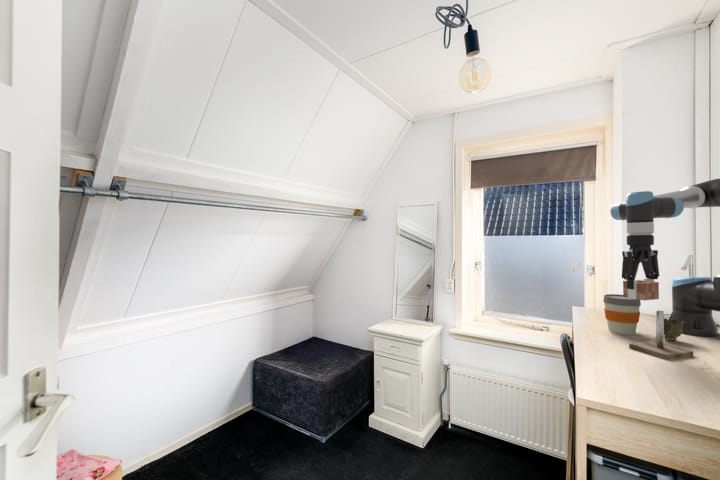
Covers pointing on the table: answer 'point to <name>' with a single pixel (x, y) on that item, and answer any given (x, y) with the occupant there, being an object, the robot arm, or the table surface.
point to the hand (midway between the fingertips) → (640, 297)
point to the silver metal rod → (659, 329)
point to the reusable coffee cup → (621, 313)
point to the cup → (672, 329)
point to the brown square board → (661, 350)
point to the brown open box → (644, 290)
